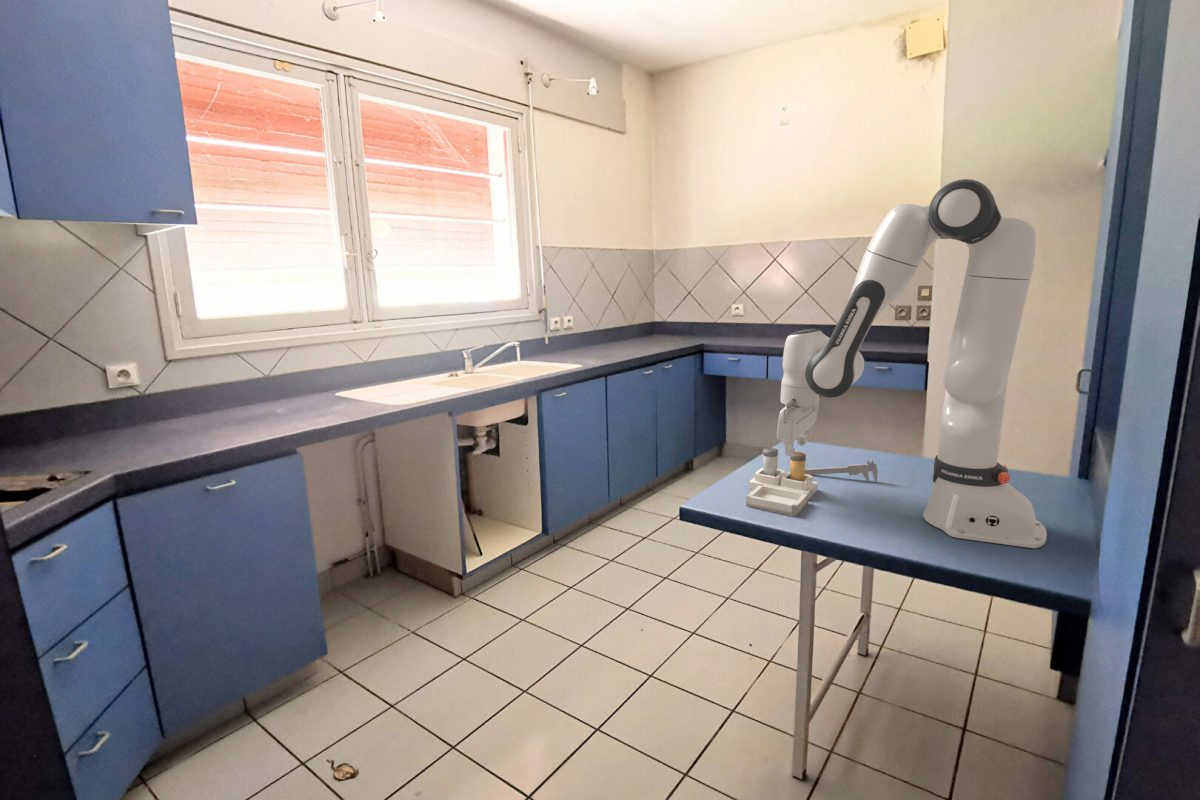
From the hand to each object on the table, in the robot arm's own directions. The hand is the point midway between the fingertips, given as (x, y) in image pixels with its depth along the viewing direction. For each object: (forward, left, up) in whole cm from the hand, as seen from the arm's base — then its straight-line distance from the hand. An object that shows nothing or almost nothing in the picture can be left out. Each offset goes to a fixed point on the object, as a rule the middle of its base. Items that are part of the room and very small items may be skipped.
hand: (795, 449), depth 149 cm
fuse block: (+3, 0, -11) cm, 11 cm away
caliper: (-6, -15, -12) cm, 20 cm away
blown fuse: (-1, 0, -9) cm, 9 cm away
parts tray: (+1, +10, -11) cm, 15 cm away
